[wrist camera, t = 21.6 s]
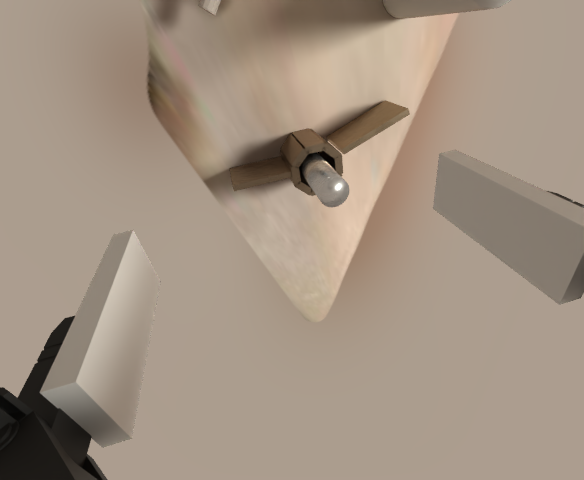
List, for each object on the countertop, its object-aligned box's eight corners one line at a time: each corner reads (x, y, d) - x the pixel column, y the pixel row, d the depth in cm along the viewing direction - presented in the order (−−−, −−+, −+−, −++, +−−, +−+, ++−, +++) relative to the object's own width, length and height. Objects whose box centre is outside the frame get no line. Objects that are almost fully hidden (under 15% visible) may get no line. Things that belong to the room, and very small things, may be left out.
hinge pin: (288, 145, 47) (317, 182, 35) (311, 139, 47) (348, 174, 35) (292, 167, 49) (321, 210, 37) (314, 162, 50) (350, 202, 37)
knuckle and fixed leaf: (223, 148, 45) (226, 165, 39) (323, 125, 47) (340, 138, 41) (236, 191, 49) (240, 213, 43) (327, 169, 51) (344, 187, 45)
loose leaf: (329, 142, 48) (344, 156, 43) (326, 136, 48) (341, 149, 42) (387, 107, 47) (410, 116, 42) (385, 100, 47) (408, 108, 41)
